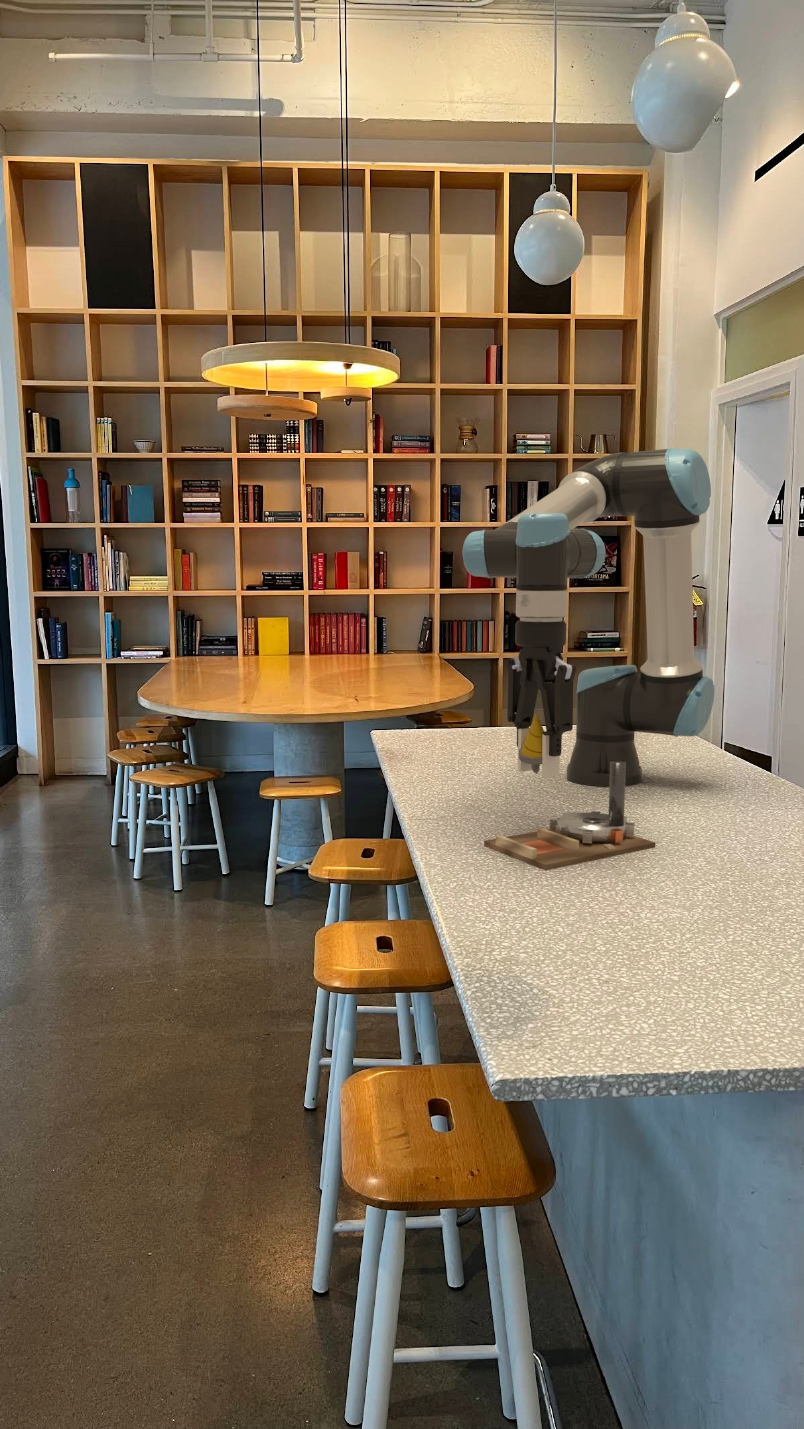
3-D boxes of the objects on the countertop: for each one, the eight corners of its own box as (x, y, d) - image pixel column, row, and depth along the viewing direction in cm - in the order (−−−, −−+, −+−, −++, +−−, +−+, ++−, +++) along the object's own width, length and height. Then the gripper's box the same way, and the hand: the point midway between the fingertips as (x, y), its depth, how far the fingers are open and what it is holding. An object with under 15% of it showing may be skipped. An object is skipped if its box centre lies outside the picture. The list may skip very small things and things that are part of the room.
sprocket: (585, 847, 154) (587, 771, 152) (533, 828, 166) (534, 756, 164) (651, 836, 160) (654, 762, 159) (597, 818, 172) (599, 749, 170)
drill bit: (557, 768, 156) (557, 707, 153) (550, 783, 152) (550, 720, 148) (523, 765, 158) (522, 705, 154) (515, 780, 153) (514, 718, 150)
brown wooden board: (484, 846, 160) (484, 831, 160) (589, 827, 172) (590, 813, 171) (545, 871, 148) (545, 854, 147) (655, 848, 159) (655, 833, 159)
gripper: (484, 617, 157) (482, 766, 160) (561, 623, 141) (557, 787, 145) (522, 615, 160) (520, 761, 164) (602, 621, 145) (597, 781, 149)
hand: (538, 773), depth 154 cm, fingers closed on drill bit, 5 cm apart
